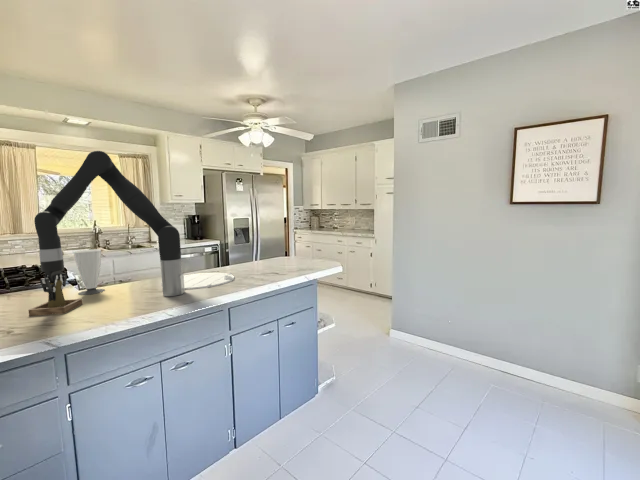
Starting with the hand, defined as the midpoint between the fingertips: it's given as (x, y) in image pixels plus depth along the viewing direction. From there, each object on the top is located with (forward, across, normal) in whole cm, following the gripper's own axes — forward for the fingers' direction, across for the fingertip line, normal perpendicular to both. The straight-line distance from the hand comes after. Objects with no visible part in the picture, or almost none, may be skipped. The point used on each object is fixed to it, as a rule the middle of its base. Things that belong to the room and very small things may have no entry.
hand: (56, 299), depth 138 cm
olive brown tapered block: (+3, 0, 0) cm, 3 cm away
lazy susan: (+5, +42, -50) cm, 65 cm away
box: (+5, 0, 0) cm, 5 cm away
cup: (+5, +30, +1) cm, 30 cm away
